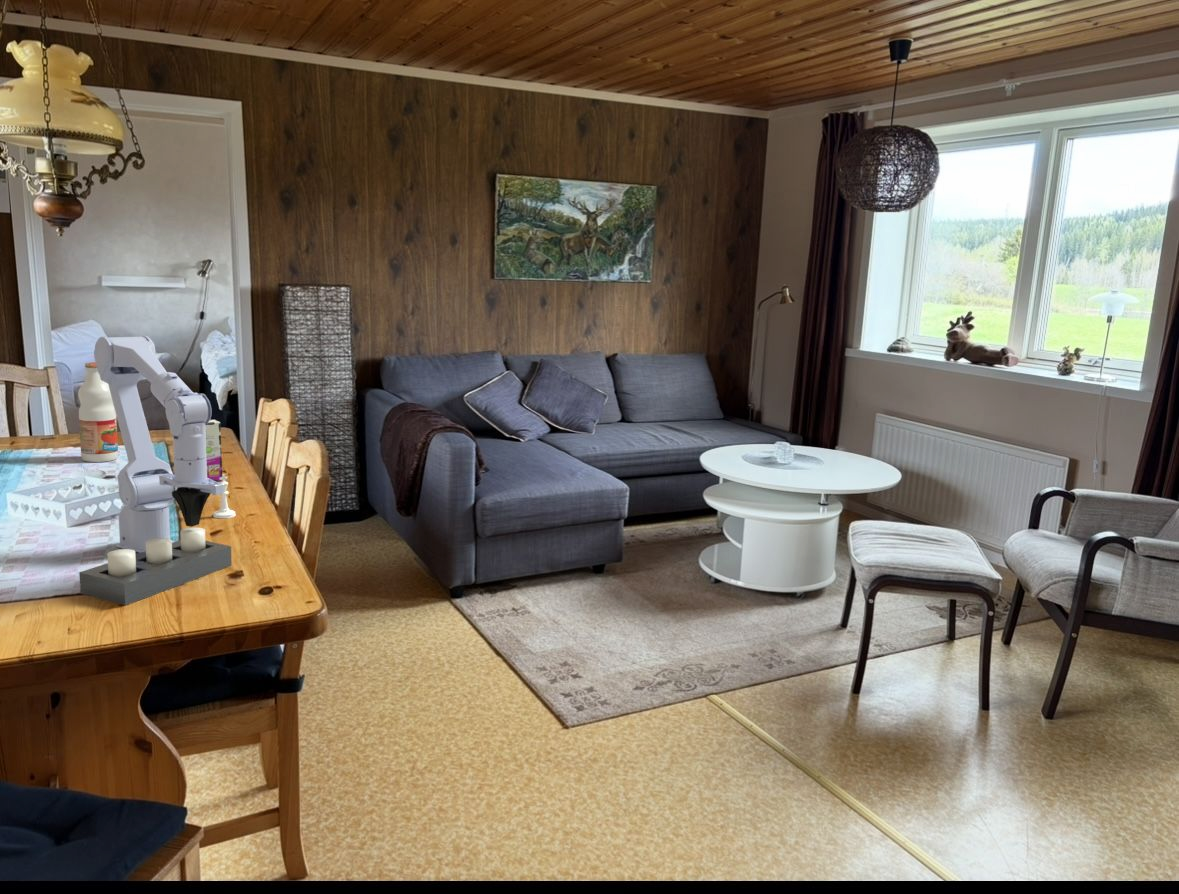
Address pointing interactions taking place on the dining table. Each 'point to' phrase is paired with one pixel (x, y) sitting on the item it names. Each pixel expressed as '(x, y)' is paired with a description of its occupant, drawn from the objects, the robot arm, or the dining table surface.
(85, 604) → the dining table surface
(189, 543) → the knob
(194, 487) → the robot arm
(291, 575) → the dining table surface
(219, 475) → the candy bar box
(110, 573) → the knob
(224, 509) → the chess piece
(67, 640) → the dining table surface
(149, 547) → the knob middle
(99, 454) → the fruit juice
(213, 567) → the knob mount
